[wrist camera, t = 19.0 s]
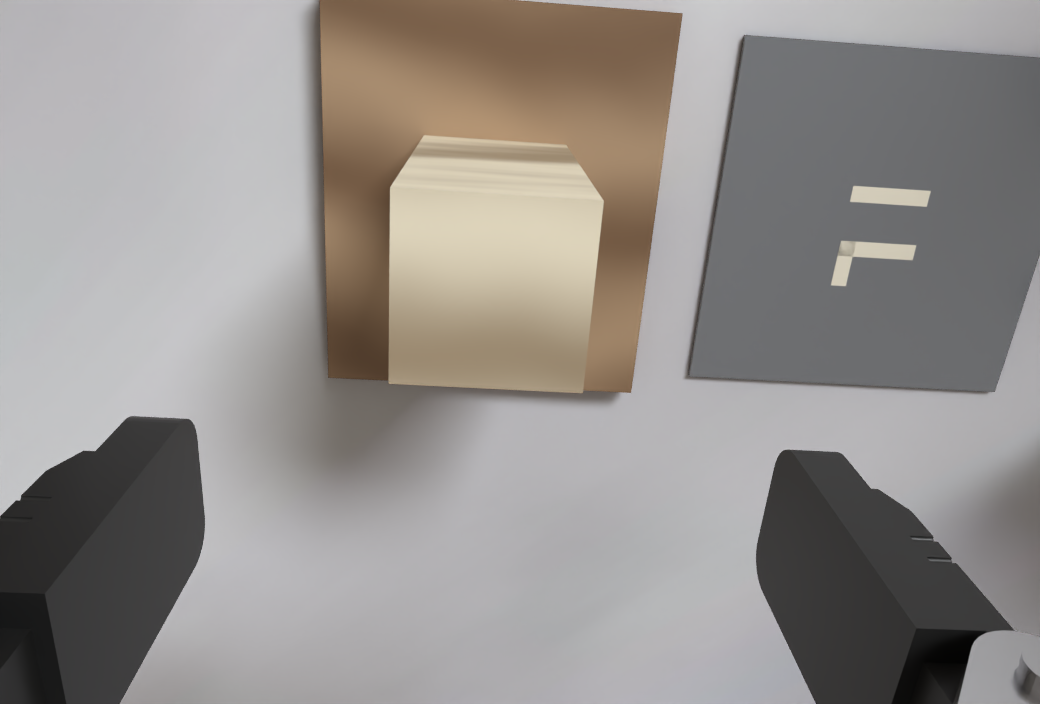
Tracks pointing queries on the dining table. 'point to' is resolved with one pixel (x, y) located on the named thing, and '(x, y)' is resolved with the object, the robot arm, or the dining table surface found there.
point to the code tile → (872, 216)
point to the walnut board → (495, 116)
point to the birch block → (492, 266)
